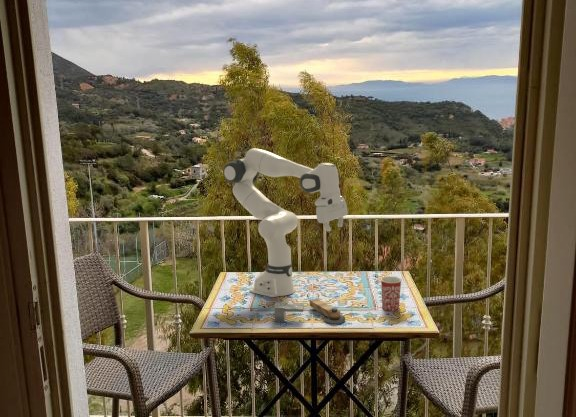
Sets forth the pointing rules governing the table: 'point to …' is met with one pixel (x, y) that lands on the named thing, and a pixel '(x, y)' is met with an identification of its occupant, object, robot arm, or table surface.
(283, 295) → the robot arm
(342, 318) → the pivot base
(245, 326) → the table surface
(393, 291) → the mug
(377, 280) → the table surface
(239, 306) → the table surface
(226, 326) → the table surface
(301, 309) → the keeper
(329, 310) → the walnut link
